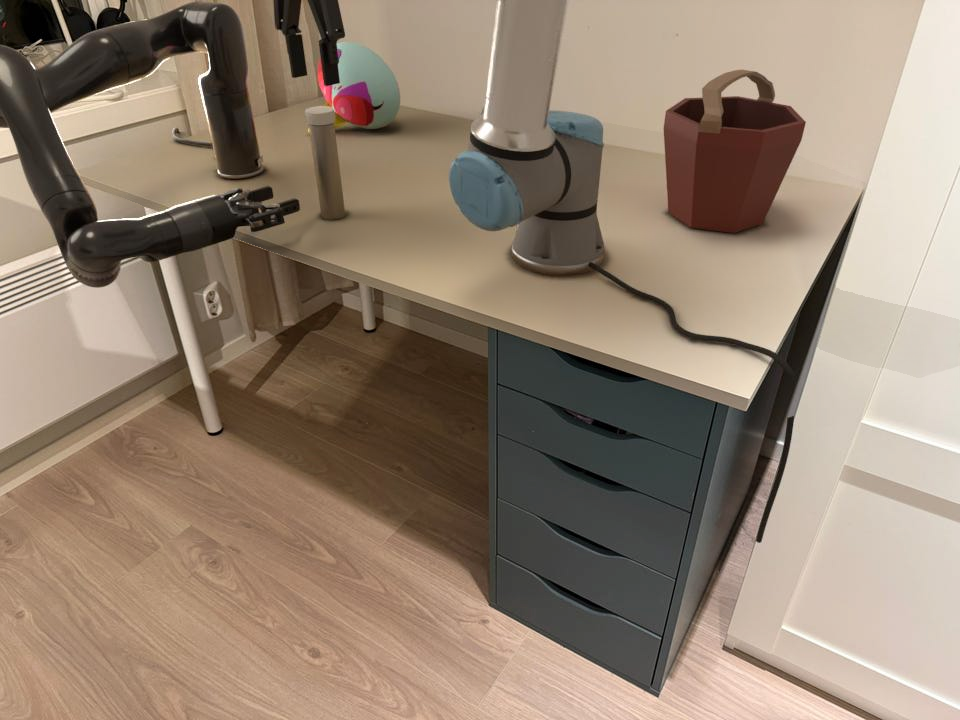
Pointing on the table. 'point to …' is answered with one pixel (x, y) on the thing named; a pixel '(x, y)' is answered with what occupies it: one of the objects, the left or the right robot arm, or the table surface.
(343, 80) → the toy
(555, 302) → the table surface
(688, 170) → the bucket
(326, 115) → the lid
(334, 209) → the tan tube
